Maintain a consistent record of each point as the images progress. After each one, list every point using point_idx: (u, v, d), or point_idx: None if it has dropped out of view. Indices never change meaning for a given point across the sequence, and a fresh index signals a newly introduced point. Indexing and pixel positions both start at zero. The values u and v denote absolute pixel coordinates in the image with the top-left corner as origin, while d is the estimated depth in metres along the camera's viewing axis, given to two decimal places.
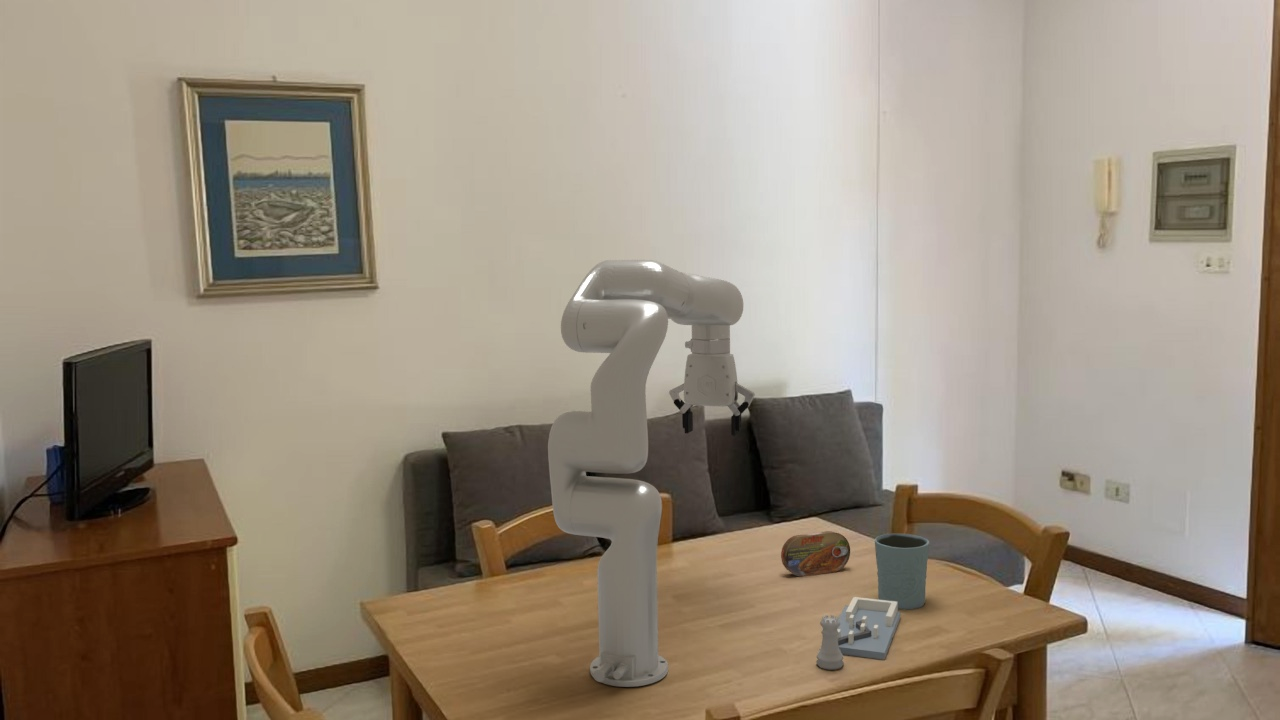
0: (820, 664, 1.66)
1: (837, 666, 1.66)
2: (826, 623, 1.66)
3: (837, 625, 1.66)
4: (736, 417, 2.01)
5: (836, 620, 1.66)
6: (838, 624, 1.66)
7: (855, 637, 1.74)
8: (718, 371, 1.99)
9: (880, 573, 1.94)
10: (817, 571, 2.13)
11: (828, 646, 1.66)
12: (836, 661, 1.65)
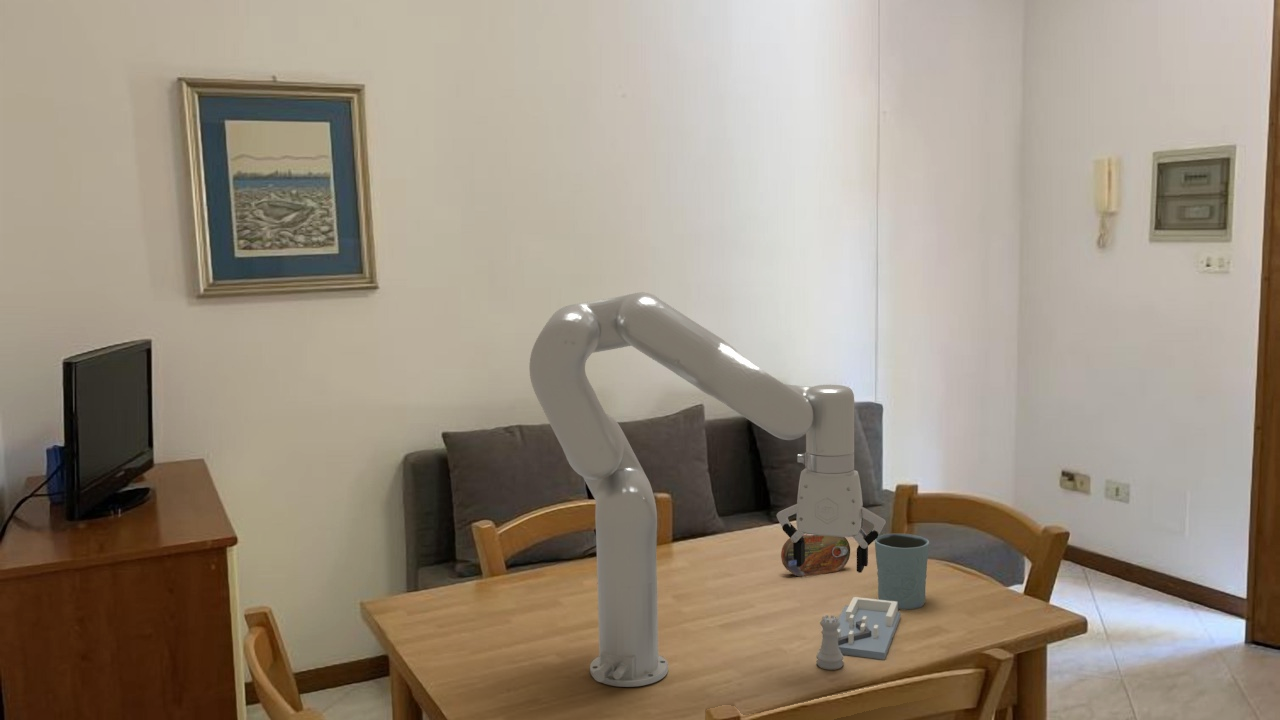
0: (820, 664, 1.66)
1: (837, 666, 1.66)
2: (826, 623, 1.66)
3: (837, 625, 1.66)
4: (862, 549, 1.63)
5: (836, 620, 1.66)
6: (838, 624, 1.66)
7: (855, 637, 1.74)
8: (841, 494, 1.61)
9: (880, 573, 1.94)
10: (817, 571, 2.13)
11: (828, 646, 1.66)
12: (836, 661, 1.65)
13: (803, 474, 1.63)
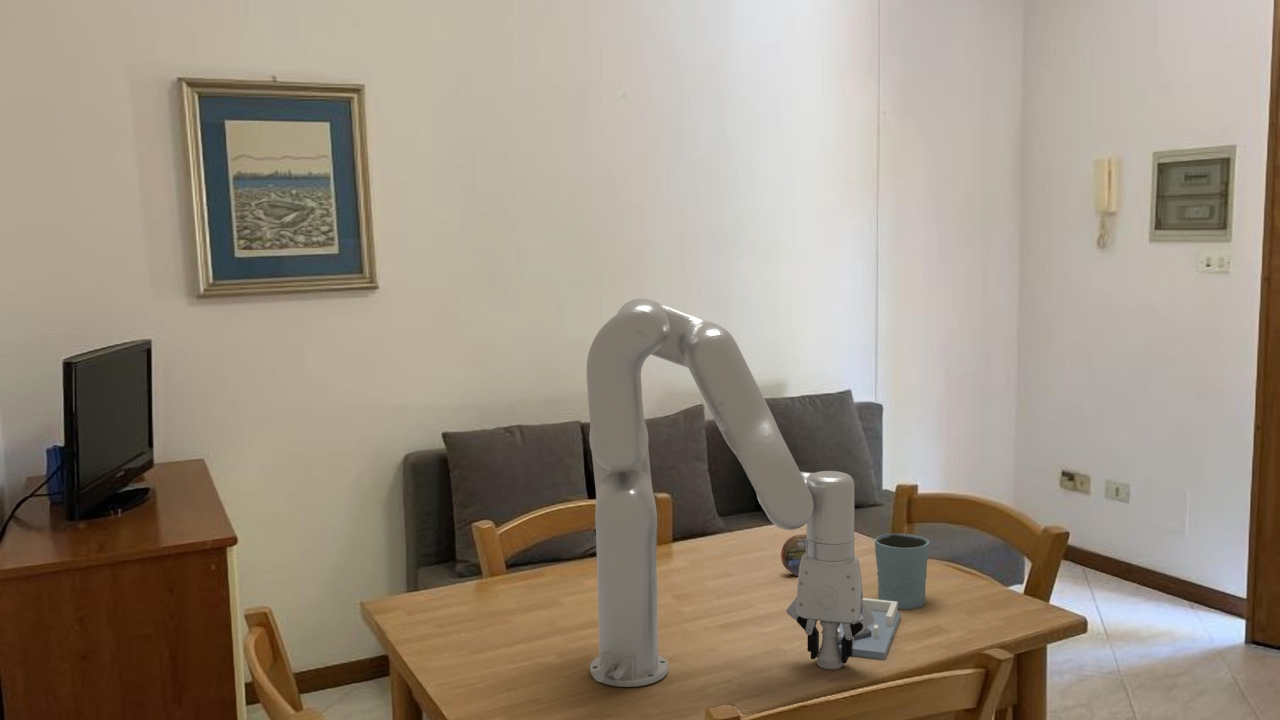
0: (820, 664, 1.66)
1: (837, 666, 1.66)
2: (826, 623, 1.66)
3: (837, 625, 1.66)
4: (847, 641, 1.65)
5: None
6: (838, 624, 1.66)
7: (855, 637, 1.74)
8: (841, 581, 1.62)
9: (880, 573, 1.94)
10: None
11: (828, 645, 1.66)
12: (836, 661, 1.65)
13: (803, 560, 1.65)
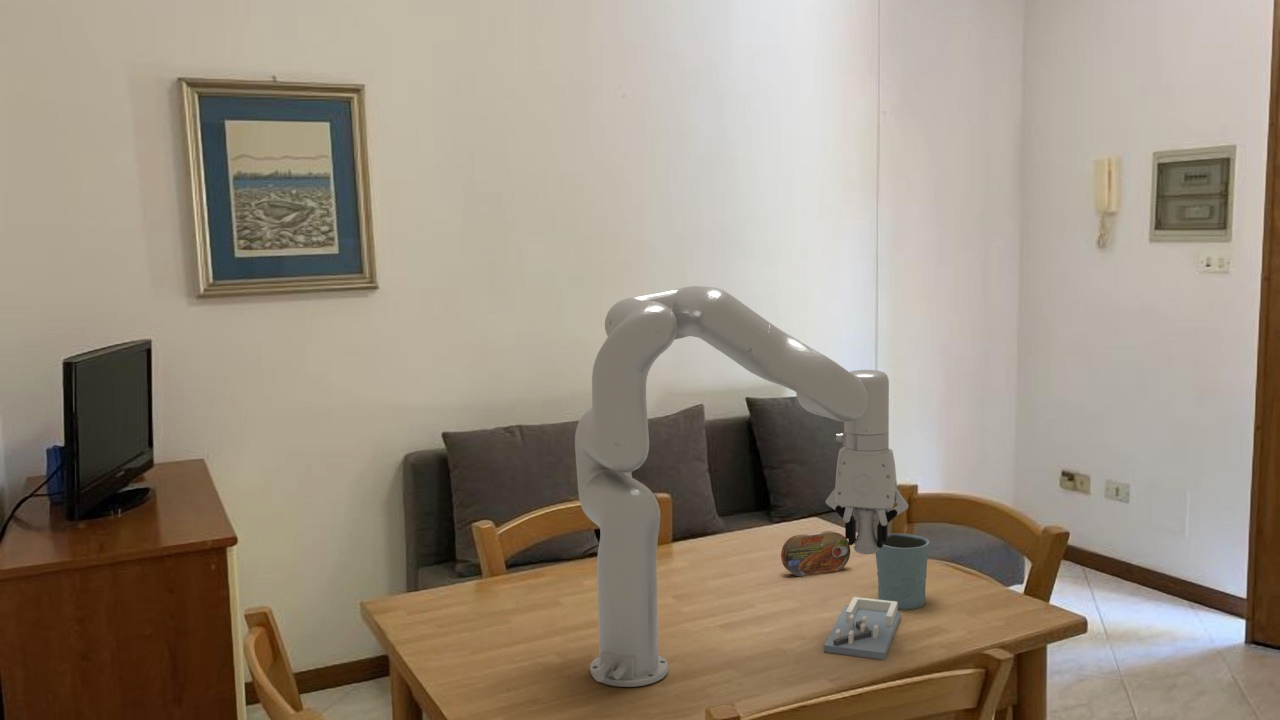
0: (857, 549, 1.79)
1: (873, 550, 1.78)
2: (863, 510, 1.78)
3: (873, 512, 1.78)
4: (883, 527, 1.78)
5: None
6: (874, 511, 1.79)
7: (855, 637, 1.74)
8: (877, 470, 1.75)
9: (880, 573, 1.94)
10: (817, 571, 2.13)
11: (865, 531, 1.79)
12: (872, 546, 1.78)
13: (841, 452, 1.78)
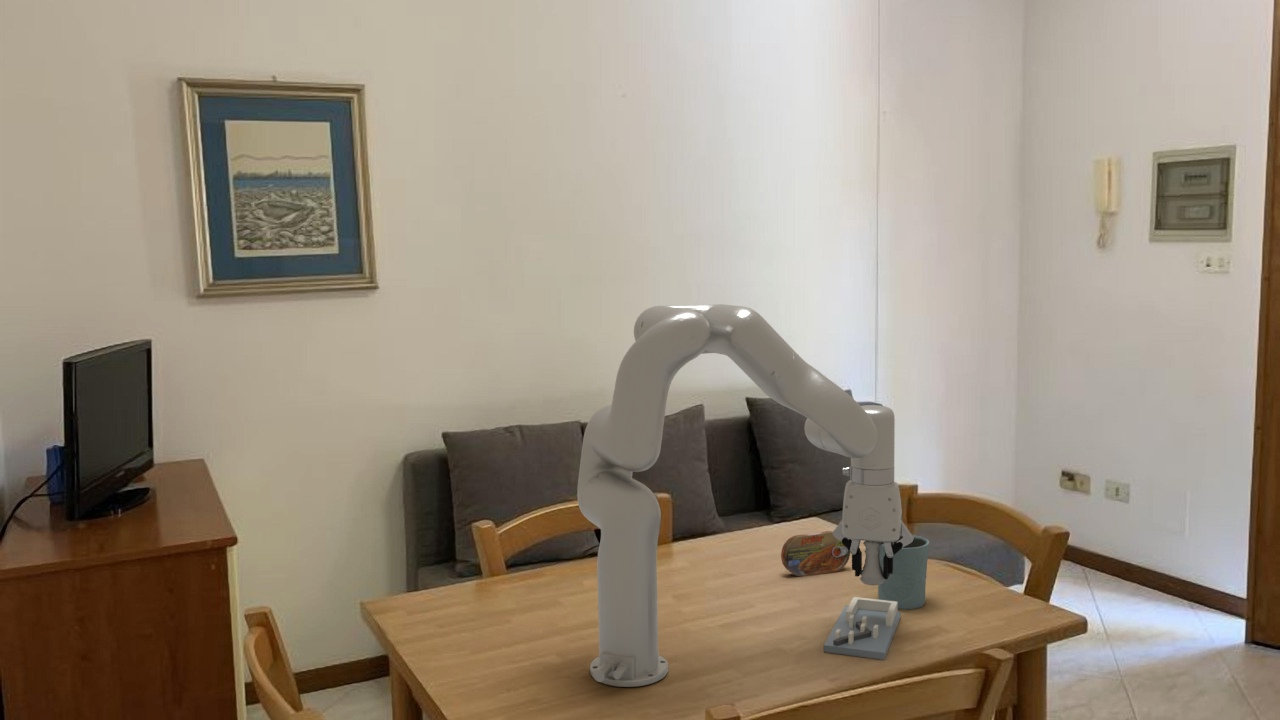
0: (864, 580, 1.83)
1: (879, 581, 1.82)
2: (869, 543, 1.82)
3: (879, 544, 1.82)
4: (888, 559, 1.82)
5: None
6: (880, 543, 1.83)
7: (855, 637, 1.74)
8: (883, 504, 1.79)
9: None
10: (817, 571, 2.13)
11: (871, 563, 1.83)
12: (878, 577, 1.82)
13: (848, 486, 1.82)
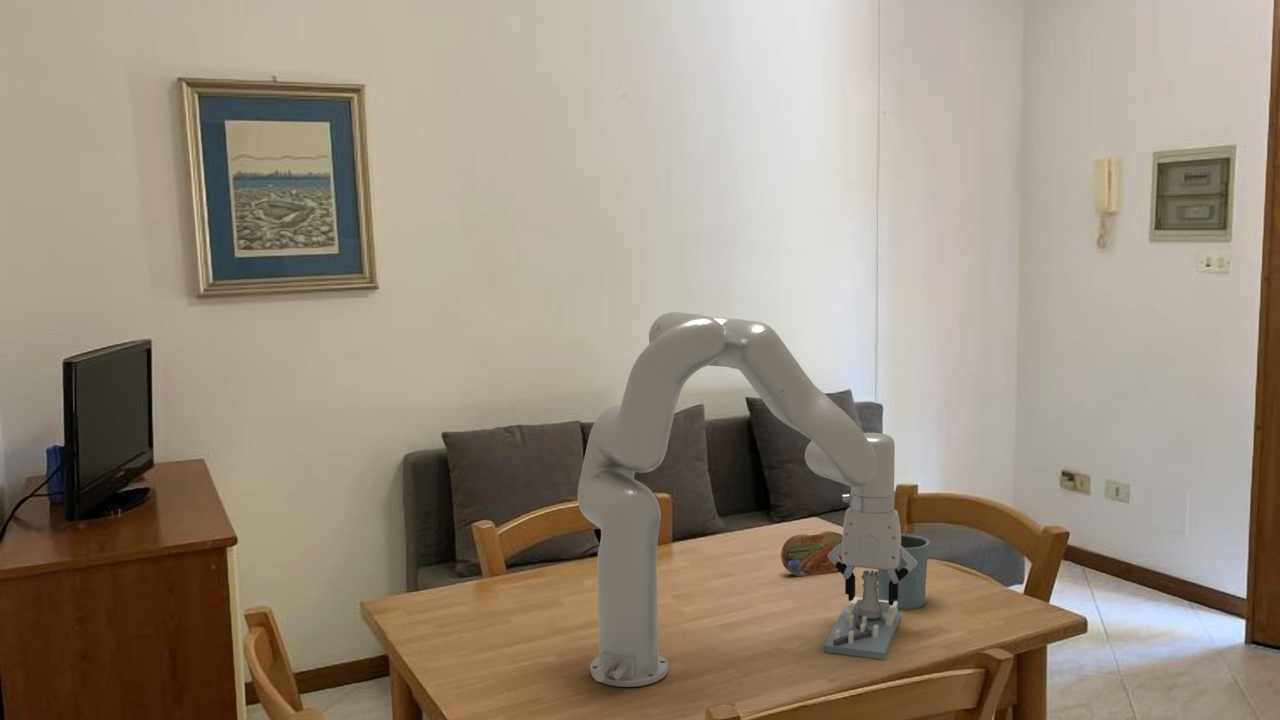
0: (861, 614, 1.84)
1: (877, 615, 1.83)
2: (867, 576, 1.84)
3: (877, 578, 1.84)
4: (894, 585, 1.82)
5: (876, 574, 1.84)
6: (878, 577, 1.84)
7: (855, 637, 1.74)
8: (883, 531, 1.80)
9: (880, 573, 1.94)
10: (817, 571, 2.13)
11: (869, 597, 1.84)
12: (876, 611, 1.83)
13: (848, 513, 1.82)
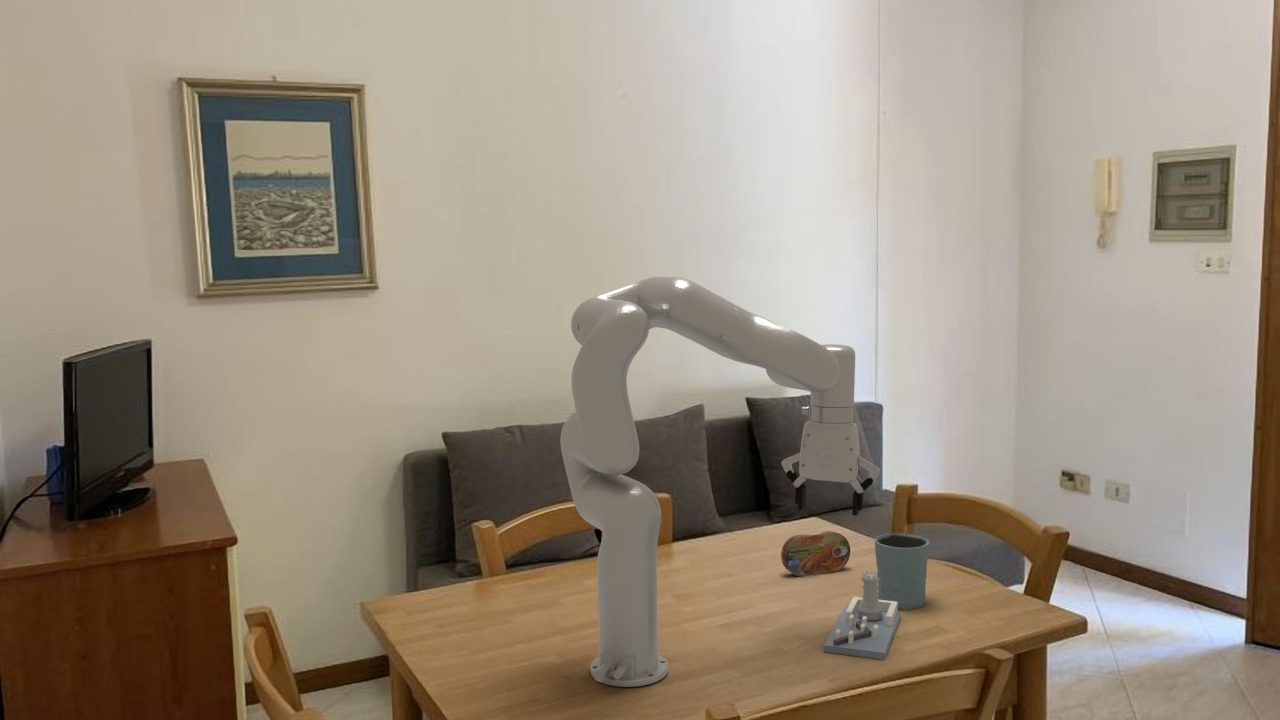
0: (862, 616, 1.84)
1: (877, 617, 1.83)
2: (867, 578, 1.83)
3: (877, 580, 1.83)
4: (858, 495, 1.79)
5: (876, 576, 1.84)
6: (878, 579, 1.83)
7: (855, 637, 1.74)
8: (841, 443, 1.77)
9: (880, 573, 1.94)
10: (817, 571, 2.13)
11: (869, 599, 1.83)
12: (876, 613, 1.83)
13: (806, 424, 1.80)
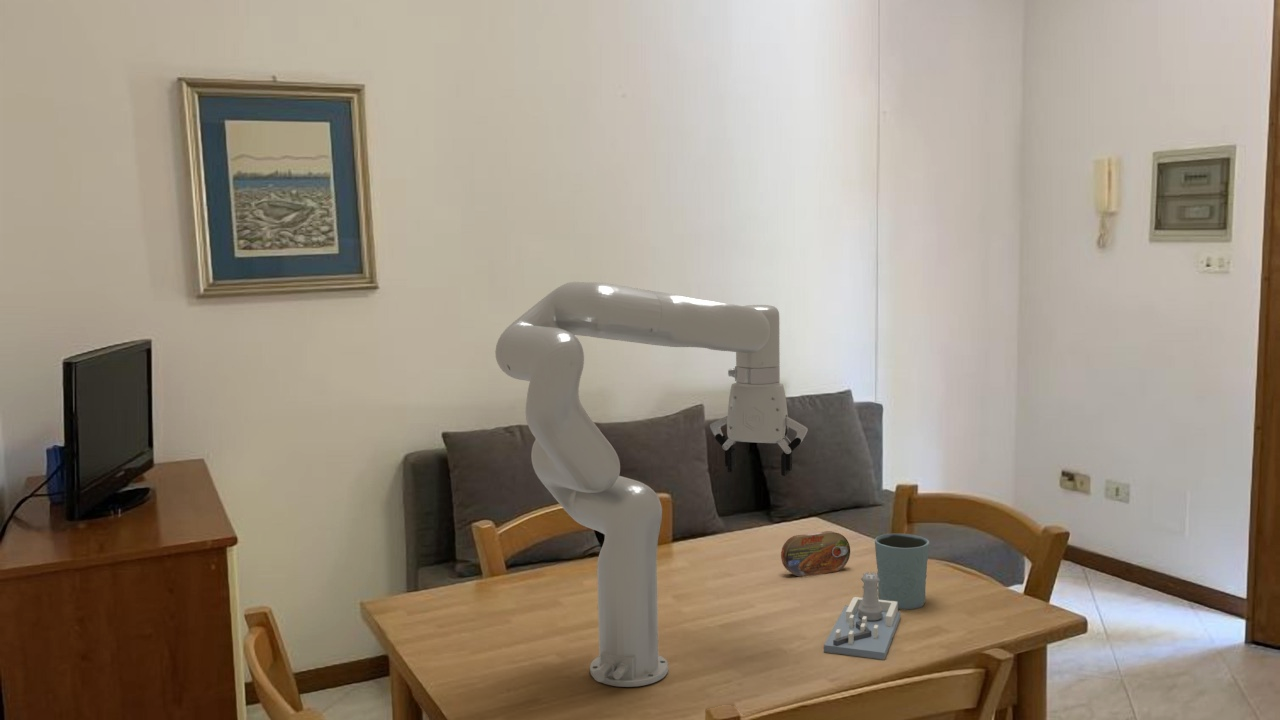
0: (862, 616, 1.84)
1: (877, 617, 1.83)
2: (867, 578, 1.83)
3: (877, 580, 1.83)
4: (787, 455, 1.78)
5: (876, 576, 1.83)
6: (878, 579, 1.83)
7: (855, 637, 1.74)
8: (767, 403, 1.76)
9: (880, 573, 1.94)
10: (817, 571, 2.13)
11: (869, 599, 1.83)
12: (876, 613, 1.83)
13: (733, 386, 1.78)
